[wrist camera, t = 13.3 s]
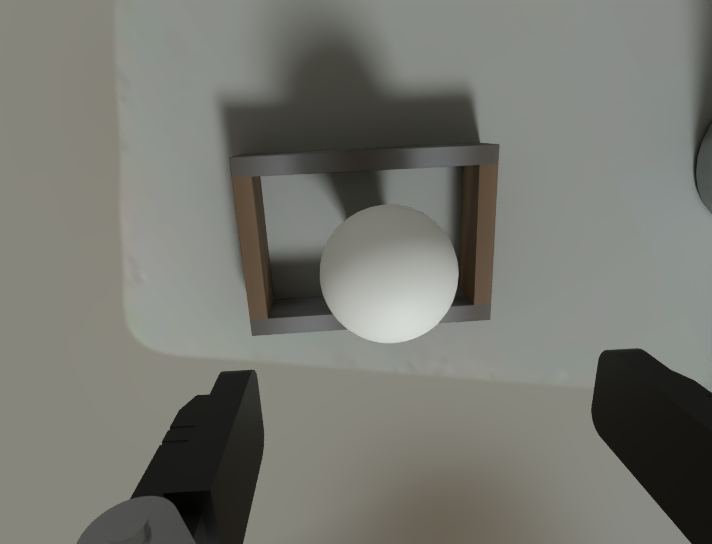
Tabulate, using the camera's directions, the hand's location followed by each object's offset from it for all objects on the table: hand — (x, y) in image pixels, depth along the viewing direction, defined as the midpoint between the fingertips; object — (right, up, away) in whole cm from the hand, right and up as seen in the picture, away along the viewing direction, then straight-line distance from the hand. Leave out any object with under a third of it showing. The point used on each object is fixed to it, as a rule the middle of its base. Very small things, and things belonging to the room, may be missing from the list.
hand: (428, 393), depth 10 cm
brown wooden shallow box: (-1, +5, +17) cm, 18 cm away
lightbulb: (-1, +5, +17) cm, 18 cm away
